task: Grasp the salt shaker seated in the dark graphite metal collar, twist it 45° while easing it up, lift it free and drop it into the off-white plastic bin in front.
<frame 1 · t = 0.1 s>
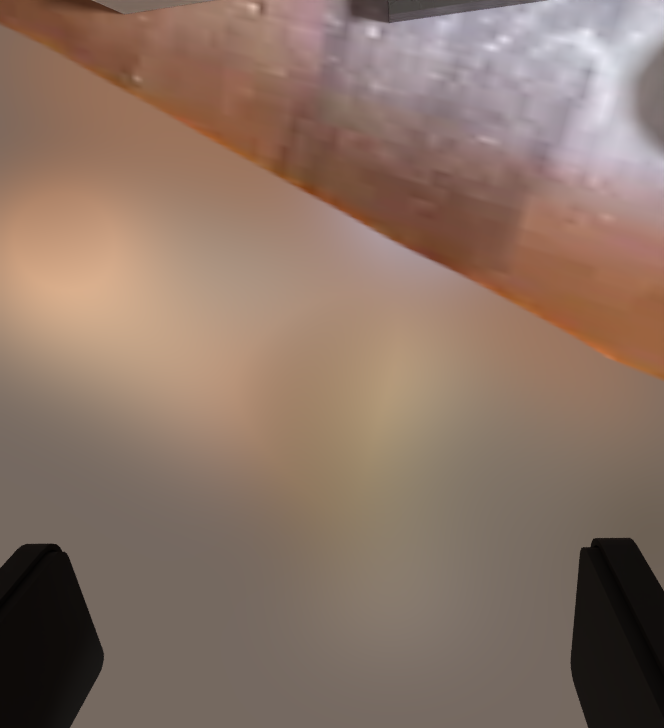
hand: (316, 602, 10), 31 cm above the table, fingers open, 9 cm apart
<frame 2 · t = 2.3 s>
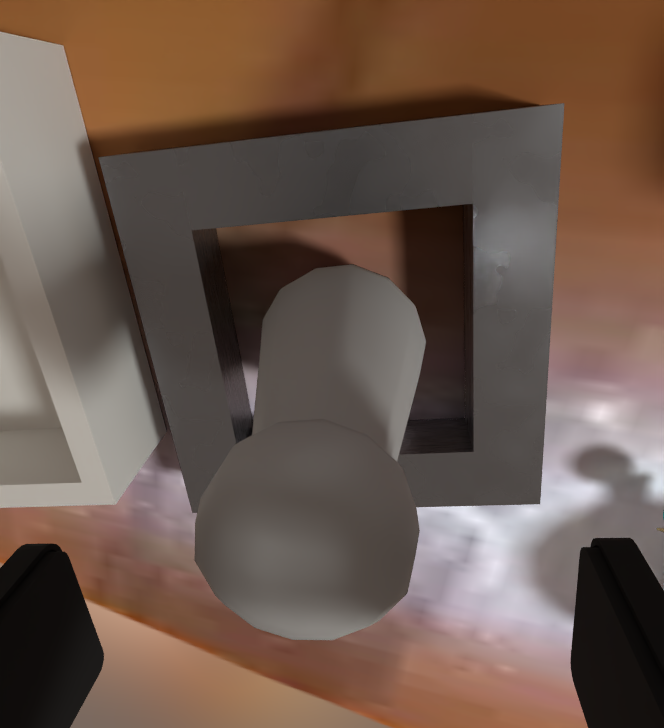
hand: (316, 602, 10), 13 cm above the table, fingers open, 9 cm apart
collar block: (346, 323, 21), on the table
salt shaker: (347, 321, 21), resting in collar block
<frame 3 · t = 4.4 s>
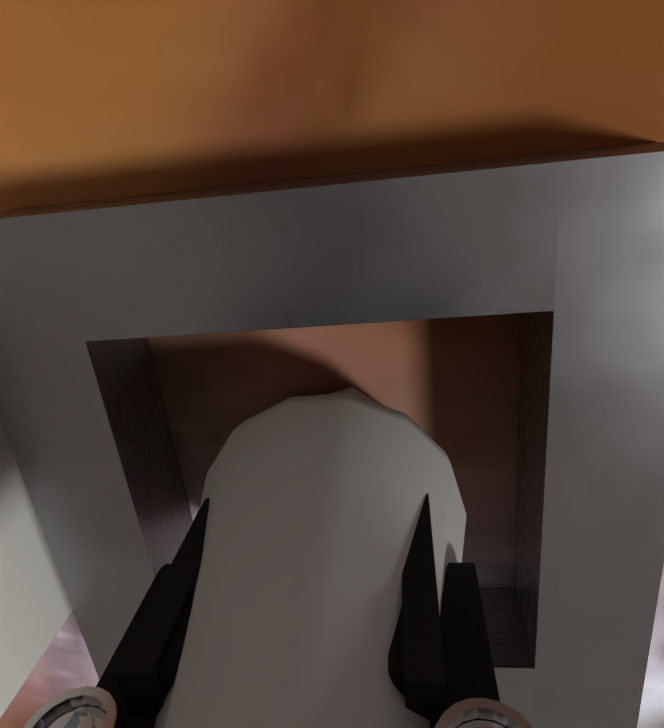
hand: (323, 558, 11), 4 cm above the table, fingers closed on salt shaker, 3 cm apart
collar block: (340, 457, 14), on the table
salt shaker: (342, 453, 14), resting in collar block, touching gripper
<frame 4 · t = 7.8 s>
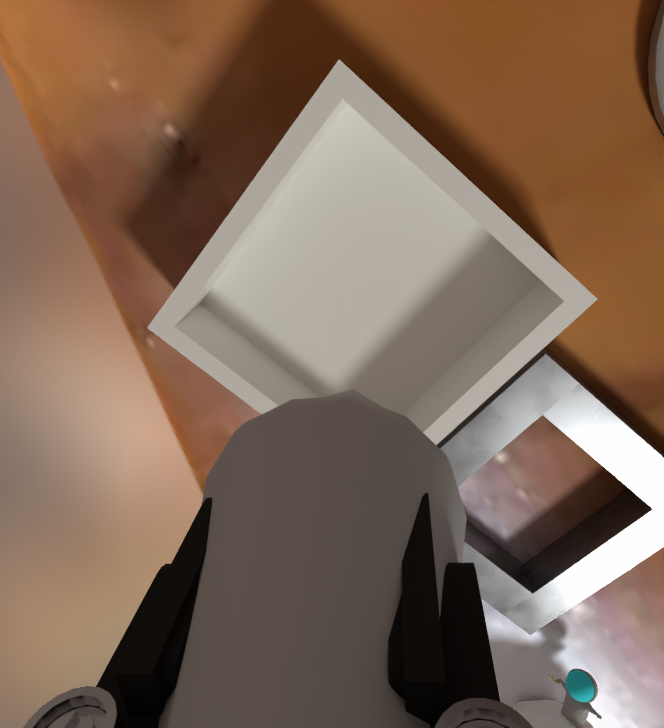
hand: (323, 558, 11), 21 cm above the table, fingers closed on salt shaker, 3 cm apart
perfume bottle: (546, 693, 41), on the table
collar block: (527, 485, 34), on the table
bin: (365, 287, 30), on the table
salt shaker: (342, 455, 14), point 17 cm above the table, touching gripper
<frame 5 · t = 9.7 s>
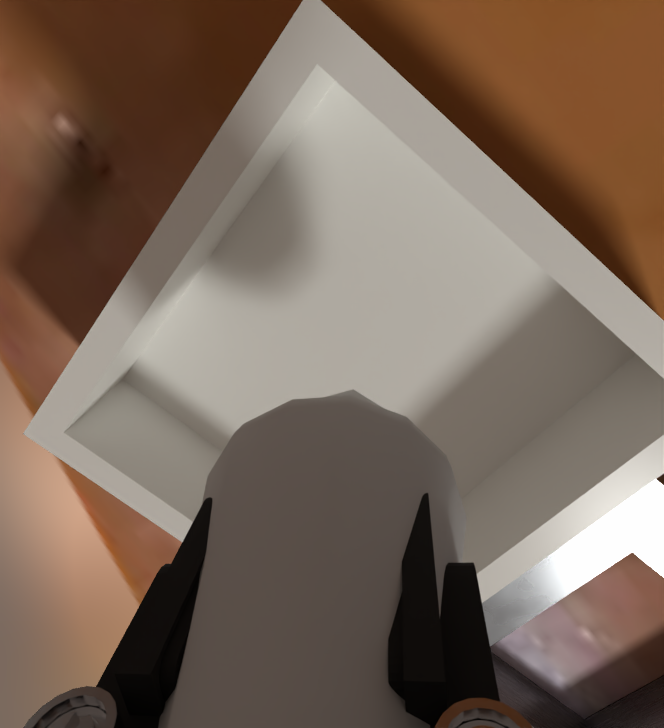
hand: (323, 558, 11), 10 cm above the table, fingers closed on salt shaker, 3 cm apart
collar block: (594, 624, 24), on the table
bin: (363, 356, 20), on the table
salt shaker: (342, 455, 14), point 6 cm above the table, touching gripper
when the fingers open (6 cm above the table, at t = 11.3 s): salt shaker stays where it is, resting on bin.
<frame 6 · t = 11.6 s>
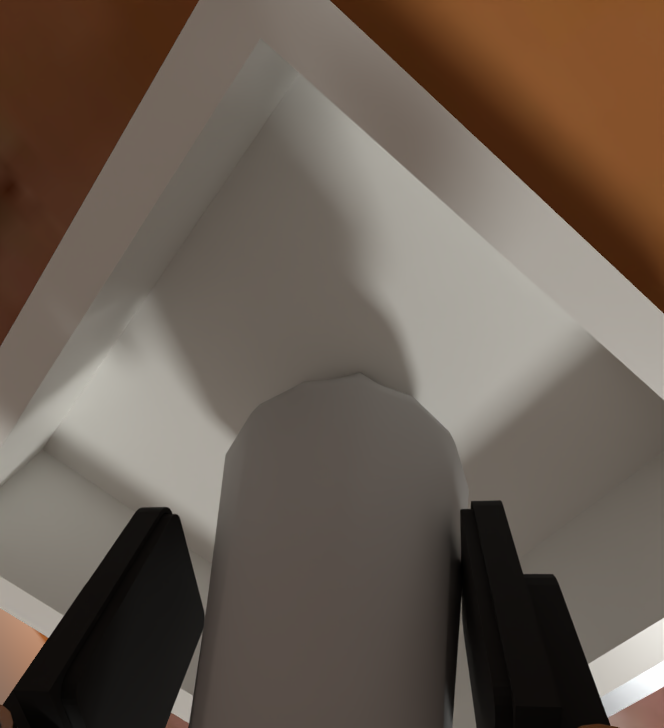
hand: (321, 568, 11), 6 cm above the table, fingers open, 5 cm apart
bin: (346, 421, 16), on the table
salt shaker: (349, 435, 15), point 1 cm above the table, touching bin
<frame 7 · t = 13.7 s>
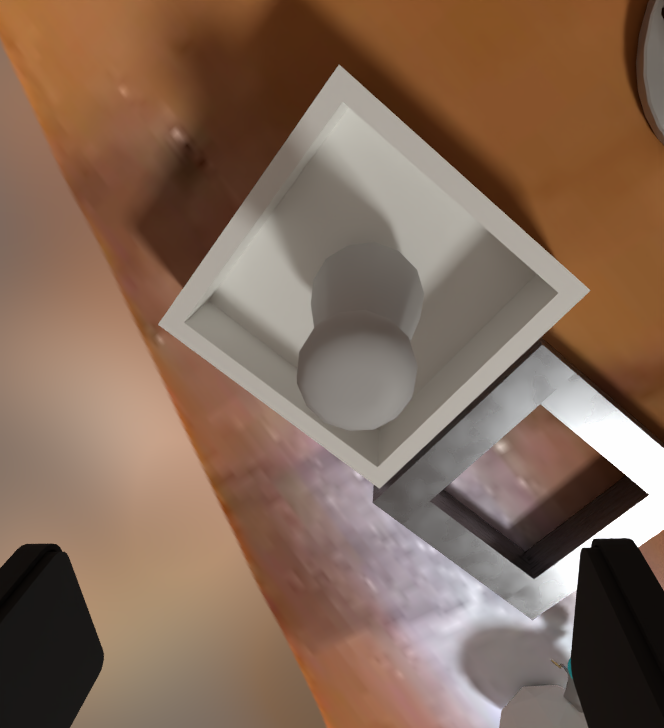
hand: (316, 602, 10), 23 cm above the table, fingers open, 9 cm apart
perfume bottle: (549, 678, 42), on the table
collar block: (527, 474, 35), on the table
bin: (366, 282, 31), on the table
salt shaker: (369, 286, 30), point 1 cm above the table, touching bin
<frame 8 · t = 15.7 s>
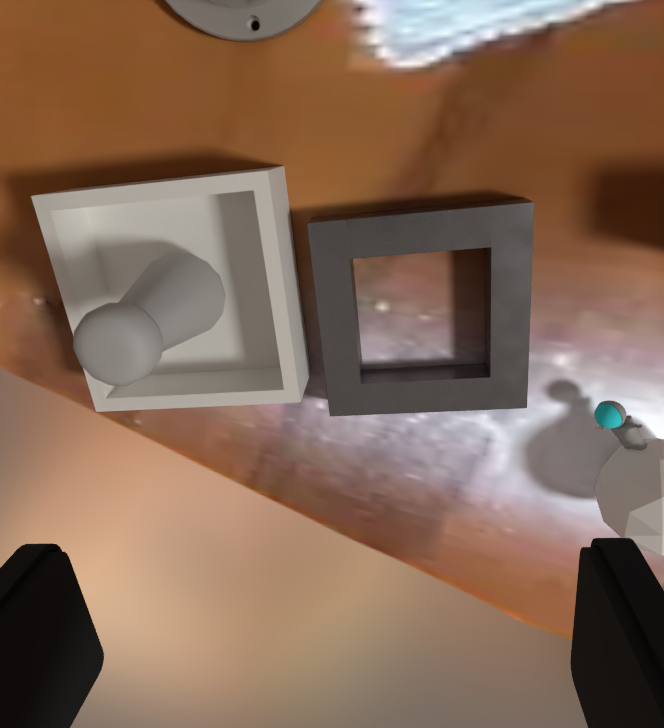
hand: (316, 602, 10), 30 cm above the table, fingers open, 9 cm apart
perfume bottle: (625, 444, 41), on the table
collar block: (420, 308, 39), on the table
bin: (198, 284, 40), on the table
salt shaker: (195, 285, 39), point 1 cm above the table, touching bin
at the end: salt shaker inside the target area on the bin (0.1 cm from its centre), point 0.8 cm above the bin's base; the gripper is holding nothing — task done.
